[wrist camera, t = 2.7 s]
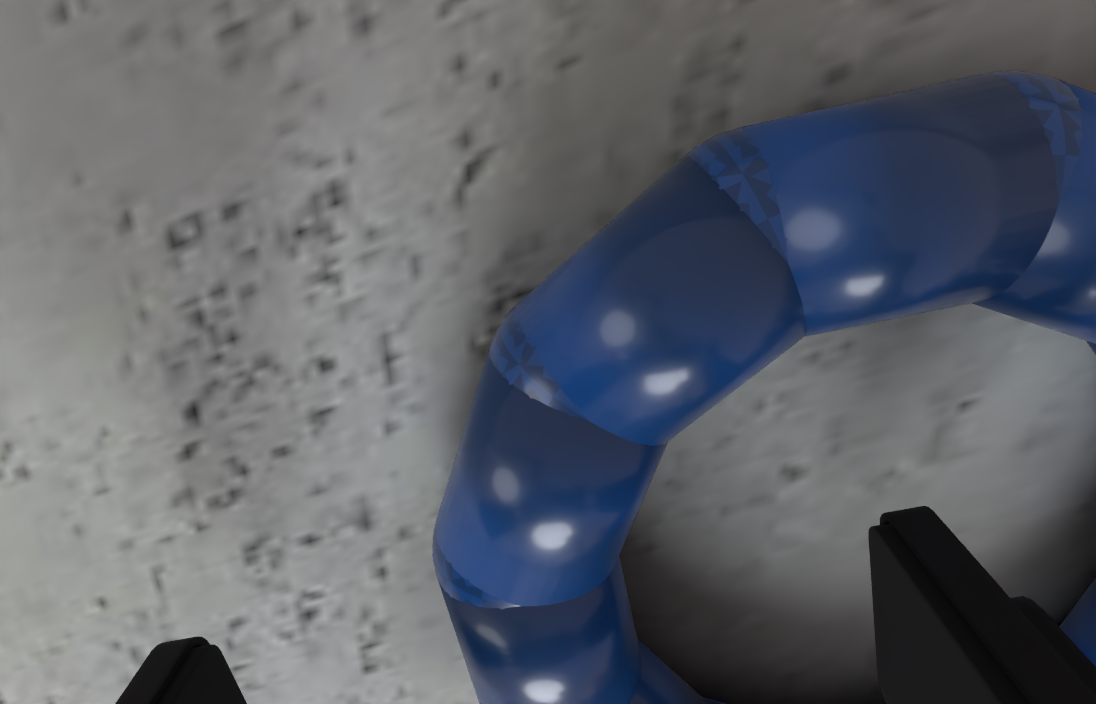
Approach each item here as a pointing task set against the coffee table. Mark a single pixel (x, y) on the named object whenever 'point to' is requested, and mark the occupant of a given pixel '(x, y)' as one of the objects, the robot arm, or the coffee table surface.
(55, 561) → the coffee table surface
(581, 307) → the blue spotted ring
